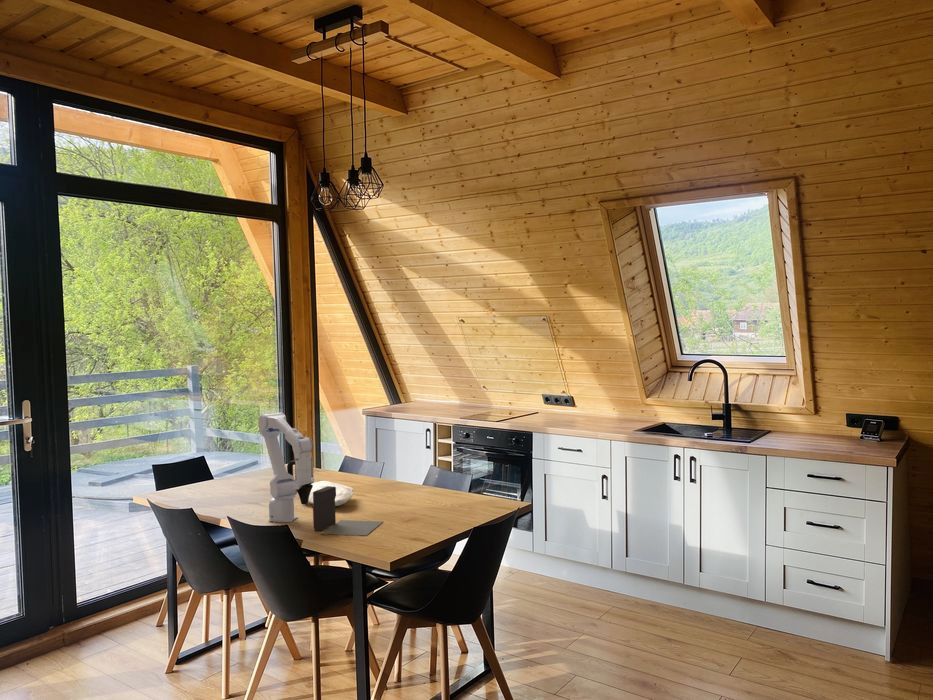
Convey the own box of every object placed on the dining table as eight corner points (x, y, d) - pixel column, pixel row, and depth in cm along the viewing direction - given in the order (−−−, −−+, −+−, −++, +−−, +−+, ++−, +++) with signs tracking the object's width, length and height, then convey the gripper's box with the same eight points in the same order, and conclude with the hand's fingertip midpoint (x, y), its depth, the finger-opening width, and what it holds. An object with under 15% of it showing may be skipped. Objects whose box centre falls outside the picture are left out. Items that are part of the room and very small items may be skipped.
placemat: (320, 534, 278) (320, 533, 278) (340, 520, 298) (340, 520, 298) (366, 536, 274) (366, 535, 274) (383, 522, 294) (383, 521, 294)
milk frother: (316, 485, 368) (315, 456, 368) (309, 492, 352) (308, 461, 352) (288, 486, 368) (287, 456, 368) (279, 493, 353) (278, 462, 352)
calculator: (327, 523, 294) (326, 485, 294) (337, 524, 293) (336, 486, 292) (312, 530, 284) (311, 491, 284) (321, 531, 282) (320, 492, 282)
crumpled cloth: (339, 489, 350) (335, 471, 349) (375, 502, 322) (371, 481, 321) (293, 505, 337) (289, 486, 336) (326, 519, 309) (322, 498, 308)
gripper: (305, 473, 282) (306, 508, 282) (320, 466, 296) (321, 499, 296) (288, 472, 283) (289, 508, 283) (304, 465, 297) (305, 499, 298)
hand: (304, 504), depth 290 cm, fingers closed
